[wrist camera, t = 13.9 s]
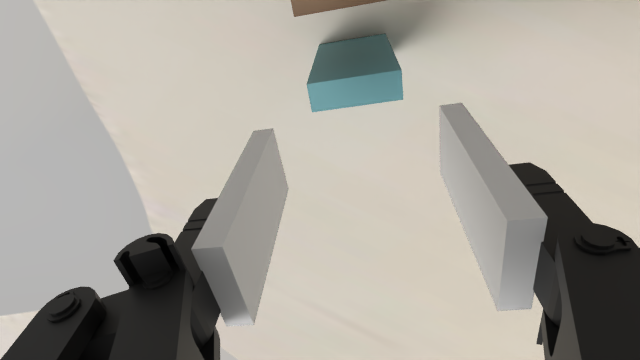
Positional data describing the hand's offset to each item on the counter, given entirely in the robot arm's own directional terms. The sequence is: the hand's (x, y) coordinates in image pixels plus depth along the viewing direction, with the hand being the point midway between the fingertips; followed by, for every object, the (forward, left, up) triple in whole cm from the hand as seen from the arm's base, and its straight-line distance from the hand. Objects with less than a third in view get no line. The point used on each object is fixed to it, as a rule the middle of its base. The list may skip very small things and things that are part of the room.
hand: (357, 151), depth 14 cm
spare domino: (0, 0, -17) cm, 17 cm away
